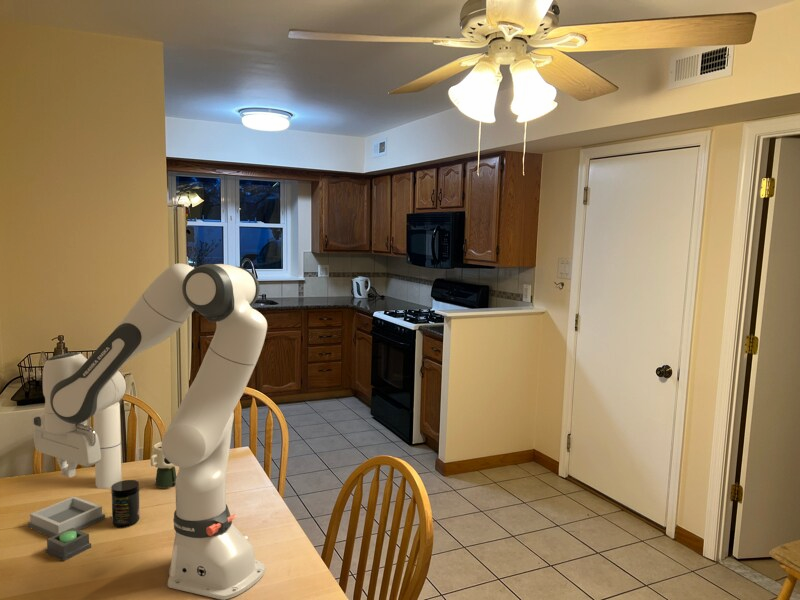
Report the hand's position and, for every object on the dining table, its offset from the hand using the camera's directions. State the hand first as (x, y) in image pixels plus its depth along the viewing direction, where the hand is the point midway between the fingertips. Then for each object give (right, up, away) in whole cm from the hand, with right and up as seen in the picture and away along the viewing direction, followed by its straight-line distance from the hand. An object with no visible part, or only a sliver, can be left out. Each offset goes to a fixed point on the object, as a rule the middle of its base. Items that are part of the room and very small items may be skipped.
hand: (68, 475), depth 138 cm
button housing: (-1, -19, +2) cm, 19 cm away
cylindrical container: (-10, -15, +39) cm, 42 cm away
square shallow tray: (-9, -17, +15) cm, 24 cm away
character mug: (+8, -15, +38) cm, 42 cm away
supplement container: (+6, -18, +16) cm, 25 cm away
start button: (-1, -17, +2) cm, 17 cm away
